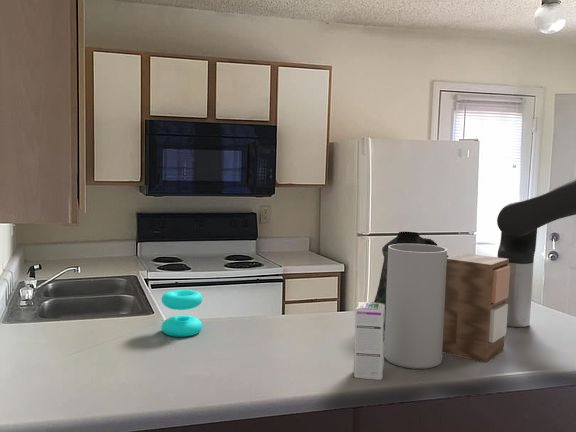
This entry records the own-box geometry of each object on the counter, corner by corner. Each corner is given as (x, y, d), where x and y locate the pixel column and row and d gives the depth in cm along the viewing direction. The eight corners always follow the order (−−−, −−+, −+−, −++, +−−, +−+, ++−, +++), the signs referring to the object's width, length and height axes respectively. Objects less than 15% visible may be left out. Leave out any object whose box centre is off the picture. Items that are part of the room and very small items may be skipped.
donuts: (155, 291, 146) (192, 286, 151) (155, 330, 147) (191, 324, 152) (171, 299, 137) (209, 294, 143) (171, 340, 138) (209, 334, 144)
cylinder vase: (451, 368, 124) (457, 252, 121) (395, 371, 122) (400, 252, 119) (427, 349, 136) (432, 243, 133) (376, 351, 134) (380, 243, 131)
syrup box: (382, 380, 116) (385, 309, 115) (352, 377, 117) (355, 307, 116) (383, 370, 122) (386, 302, 120) (355, 368, 123) (357, 300, 121)
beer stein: (358, 319, 160) (361, 229, 158) (417, 313, 168) (421, 227, 165) (391, 337, 145) (395, 237, 142) (454, 329, 152) (459, 235, 150)
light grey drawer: (506, 334, 134) (507, 304, 133) (493, 342, 128) (494, 310, 127) (479, 329, 138) (481, 299, 137) (465, 336, 132) (467, 305, 131)
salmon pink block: (508, 297, 133) (510, 266, 132) (495, 303, 127) (497, 270, 126) (481, 292, 137) (483, 262, 136) (467, 298, 131) (469, 266, 130)
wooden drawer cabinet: (503, 351, 136) (508, 258, 134) (485, 362, 128) (491, 264, 126) (458, 340, 143) (463, 253, 141) (439, 351, 135) (443, 258, 133)
